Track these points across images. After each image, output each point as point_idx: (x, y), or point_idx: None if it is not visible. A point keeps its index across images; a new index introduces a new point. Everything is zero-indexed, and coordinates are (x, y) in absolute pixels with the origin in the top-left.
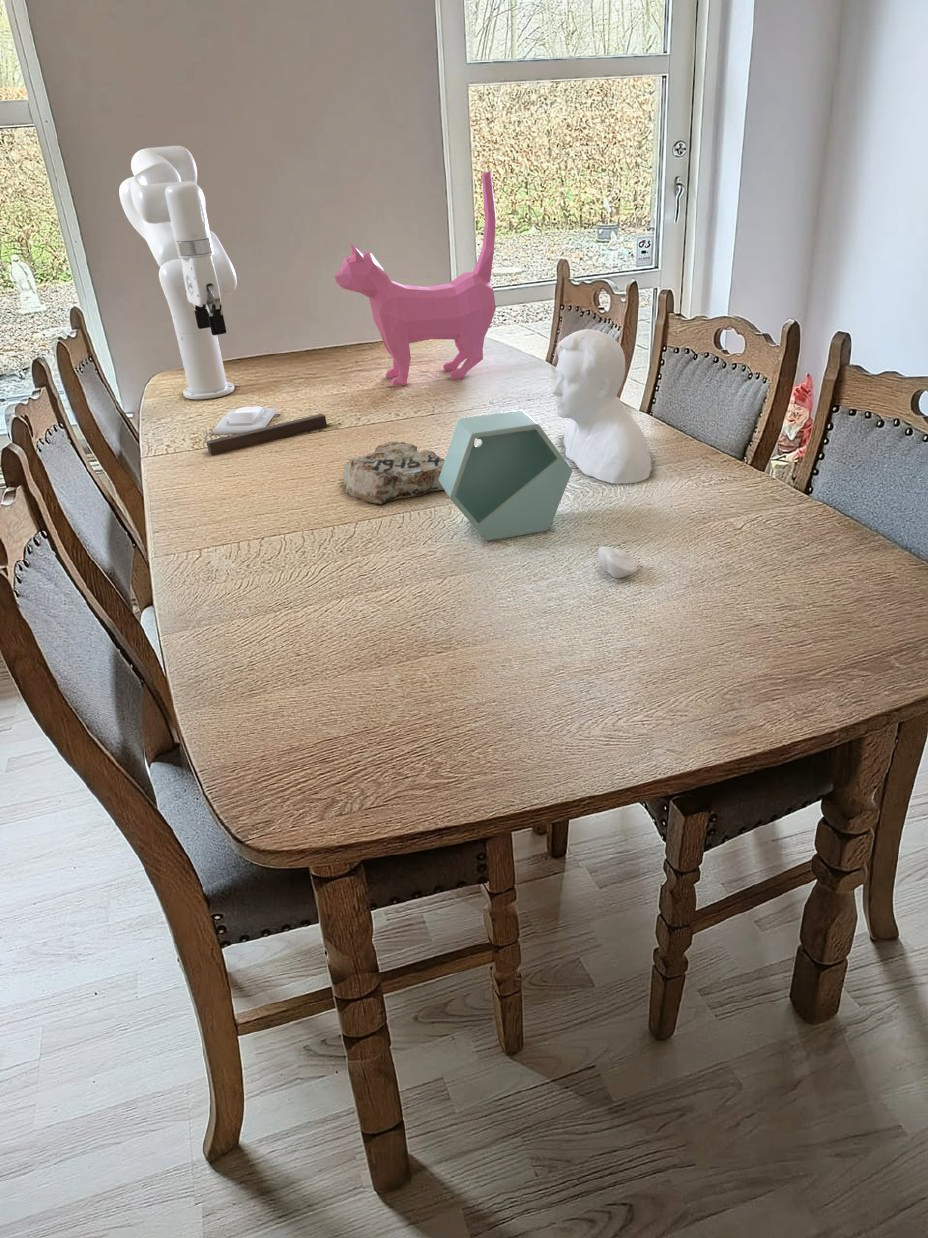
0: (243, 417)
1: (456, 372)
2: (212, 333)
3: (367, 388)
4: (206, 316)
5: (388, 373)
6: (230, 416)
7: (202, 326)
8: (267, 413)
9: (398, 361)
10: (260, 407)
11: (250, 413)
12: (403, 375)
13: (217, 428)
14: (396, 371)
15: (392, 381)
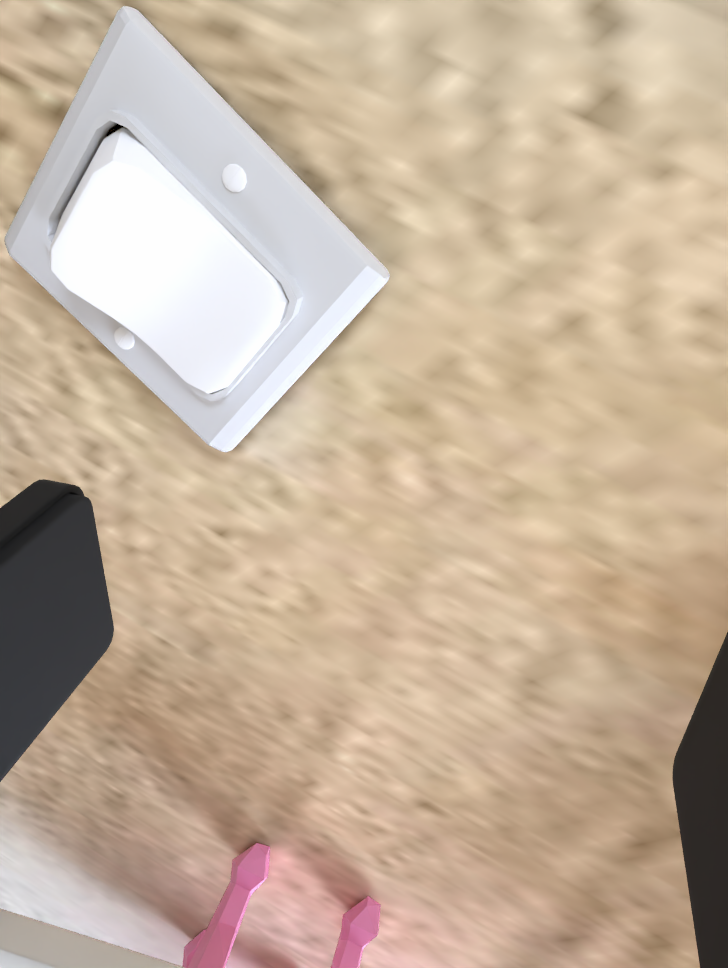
0: (63, 217)
1: (186, 955)
2: (32, 486)
3: (314, 808)
4: (715, 891)
5: (354, 915)
6: (103, 157)
7: (722, 675)
8: (155, 377)
9: (207, 942)
10: (195, 381)
11: (51, 263)
12: (225, 893)
13: (115, 41)
14: (342, 931)
15: (253, 860)
